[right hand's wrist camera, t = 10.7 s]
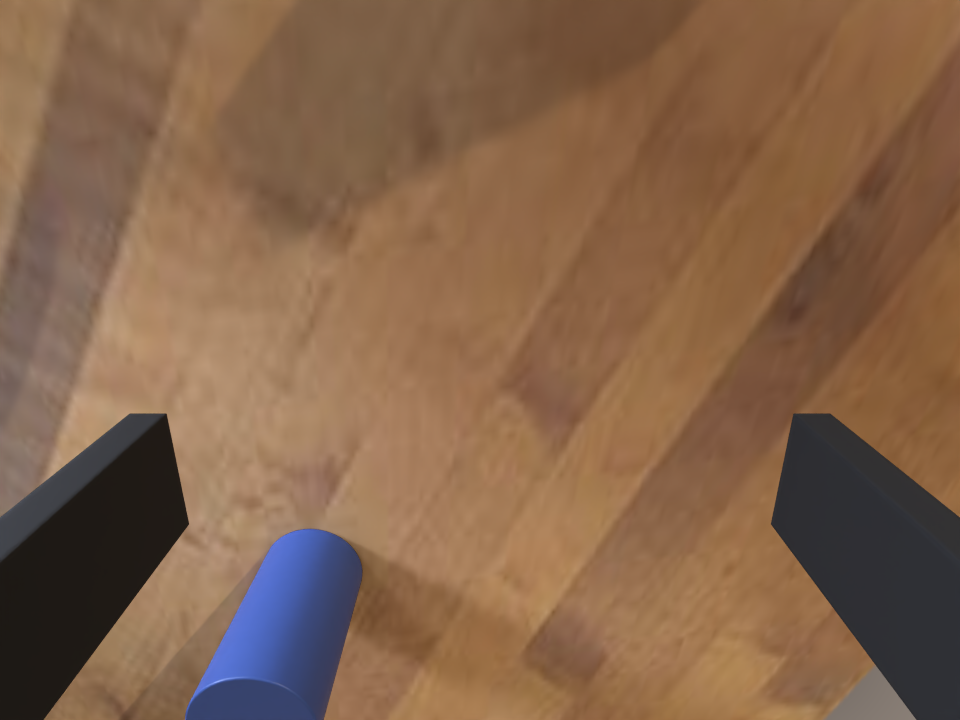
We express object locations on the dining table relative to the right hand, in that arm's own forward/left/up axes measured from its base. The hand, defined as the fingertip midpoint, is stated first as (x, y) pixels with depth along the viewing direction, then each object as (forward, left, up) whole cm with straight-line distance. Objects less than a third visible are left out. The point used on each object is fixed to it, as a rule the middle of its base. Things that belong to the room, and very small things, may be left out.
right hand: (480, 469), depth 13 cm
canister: (+5, -19, -18) cm, 27 cm away
